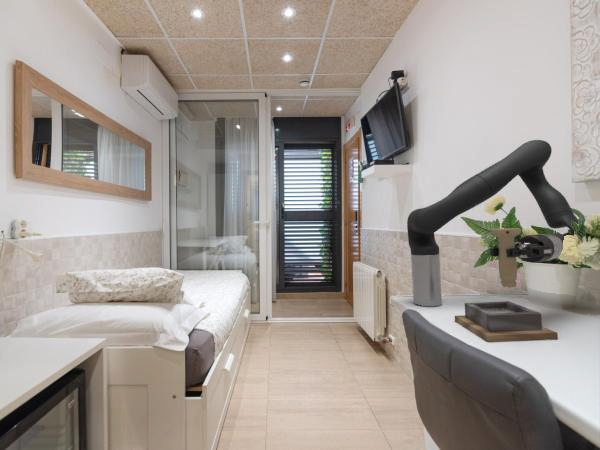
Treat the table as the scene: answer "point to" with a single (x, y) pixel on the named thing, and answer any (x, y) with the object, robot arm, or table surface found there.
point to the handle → (505, 263)
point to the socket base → (504, 323)
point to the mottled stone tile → (499, 310)
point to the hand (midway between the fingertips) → (500, 252)
